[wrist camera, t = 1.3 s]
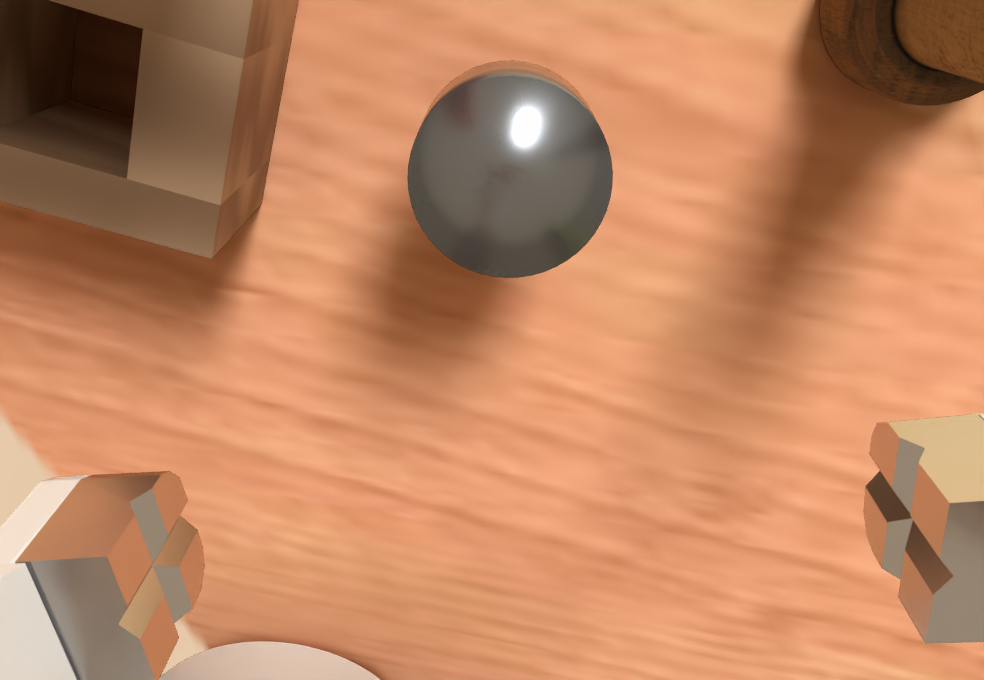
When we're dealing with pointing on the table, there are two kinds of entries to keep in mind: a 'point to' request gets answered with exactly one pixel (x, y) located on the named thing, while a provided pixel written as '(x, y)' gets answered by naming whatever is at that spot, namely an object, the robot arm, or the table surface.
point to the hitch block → (146, 118)
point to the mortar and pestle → (908, 46)
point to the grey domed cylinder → (509, 170)
